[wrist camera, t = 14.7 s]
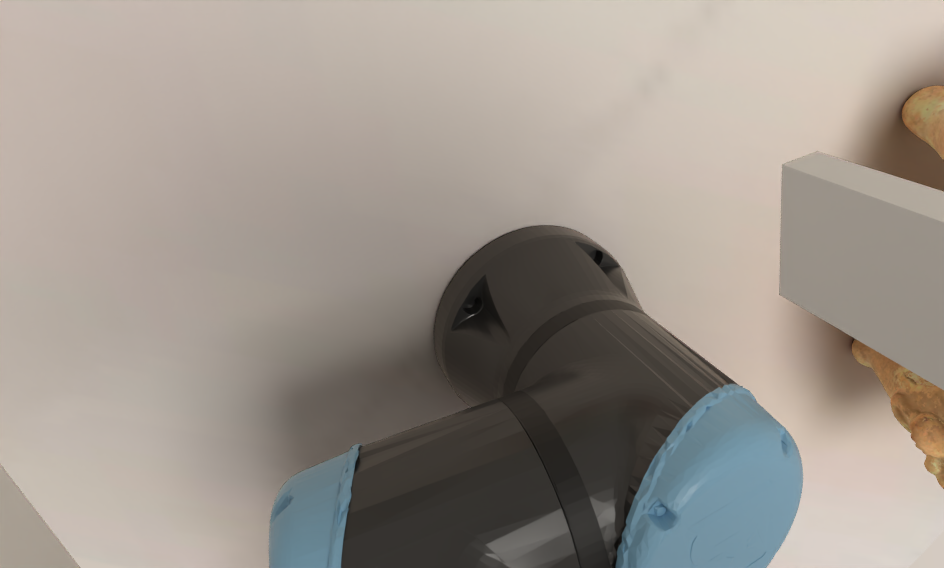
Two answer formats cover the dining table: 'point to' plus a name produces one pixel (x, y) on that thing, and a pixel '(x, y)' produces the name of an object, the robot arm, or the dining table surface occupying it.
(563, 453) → the robot arm
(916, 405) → the decorative bowl
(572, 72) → the dining table surface
